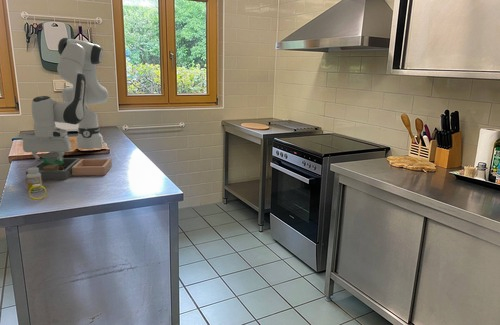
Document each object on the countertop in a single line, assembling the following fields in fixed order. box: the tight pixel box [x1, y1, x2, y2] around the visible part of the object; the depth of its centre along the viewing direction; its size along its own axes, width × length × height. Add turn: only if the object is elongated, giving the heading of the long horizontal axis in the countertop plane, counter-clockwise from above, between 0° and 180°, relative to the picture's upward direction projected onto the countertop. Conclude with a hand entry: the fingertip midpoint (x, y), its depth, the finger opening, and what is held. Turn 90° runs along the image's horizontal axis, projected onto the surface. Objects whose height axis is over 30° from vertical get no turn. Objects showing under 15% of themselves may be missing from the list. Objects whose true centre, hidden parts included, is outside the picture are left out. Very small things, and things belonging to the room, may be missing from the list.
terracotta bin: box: [72, 158, 113, 176], centre depth 185 cm, size 16×15×4 cm
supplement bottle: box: [25, 166, 44, 193], centre depth 155 cm, size 5×5×10 cm
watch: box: [28, 184, 47, 201], centre depth 146 cm, size 6×3×6 cm, turn 119°
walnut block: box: [43, 165, 58, 171], centre depth 175 cm, size 5×5×5 cm
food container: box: [41, 152, 66, 170], centre depth 183 cm, size 12×6×10 cm, turn 168°
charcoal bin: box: [25, 157, 82, 181], centre depth 181 cm, size 24×17×4 cm
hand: (49, 160), depth 174 cm, fingers open, 8 cm apart
